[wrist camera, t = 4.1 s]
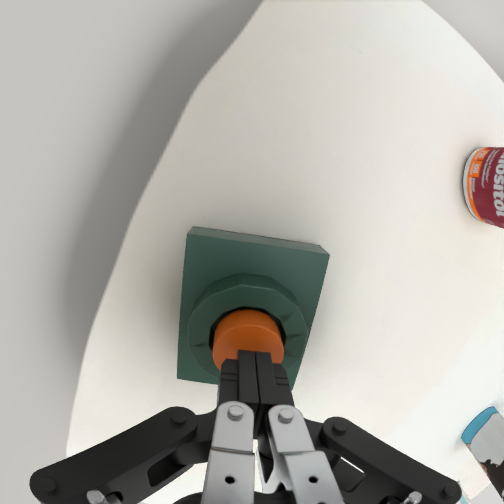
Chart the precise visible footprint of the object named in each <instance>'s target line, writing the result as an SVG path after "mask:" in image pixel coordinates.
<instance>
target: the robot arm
mask: <svg viewBox="0 0 504 504" xmlns="http://www.w3.org/2000/svg"><path fill="white" fill-rule="evenodd" d="M253 439H258V447H257V450H256V457H257V462H258V468H259V473H260V479H261V484H262V493H260V492H256V491H254V477H255V454H254V453H253ZM341 457H343V458H344V459H346V460H347V461H349V462H350V463H352V464H353V465H355V466H356V467H358V468H360V469H361V470H362V471H363V472H364V473H362V472H361V471H359V470H358V469H356V468H355V467H353V466H351V465H350V464H348V463H347V462H346V461H344V460H343V459H341ZM205 462H208V464H207V470H206V476H205V481H204V487H203V492H199V493H194V494H191V495H188V496H186V497H183V498H181V499H179V500H178V501H176V502H175V503H173V504H456V503H457V502H458V501H459V500H460V499H461V496H462V490H461V487H460V485H459V484H458V483H457V482H456V481H454V480H452V479H450V478H448V477H446V476H444V475H442V474H440V473H438V472H436V471H435V470H433V469H431V468H429V467H427V466H425V465H423V464H421V463H419V462H418V461H416V460H414V459H412V458H410V457H409V456H407V455H405V454H403V453H401V452H400V451H398V450H396V449H395V448H393V447H391V446H389V445H388V444H386V443H384V442H383V441H381V440H379V439H378V438H376V437H374V436H373V435H371V434H370V433H368V432H366V431H365V430H363V429H361V428H360V427H358V426H357V425H355V424H354V423H352V422H351V421H349V420H347V419H345V418H342V417H331V418H328V419H327V420H326V421H325V422H324V423H319V422H315V421H311V420H308V419H305V418H304V417H303V415H302V413H301V412H300V411H299V410H298V409H297V408H295V405H294V401H293V397H292V393H291V388H290V386H289V380H288V376H287V372H286V370H285V368H284V367H283V366H282V365H281V364H280V363H272V358H271V353H270V352H261V351H250V350H241V349H238V352H237V357H236V359H228V358H226V359H225V360H224V362H223V363H222V364H221V369H220V376H219V383H218V393H217V407H216V409H215V410H213V411H212V412H210V413H207V414H202V415H195V414H194V413H193V412H192V411H191V410H189V409H187V408H184V407H178V406H177V407H170V408H167V409H165V410H163V411H161V412H160V413H158V414H156V415H154V416H152V417H151V418H149V419H147V420H145V421H143V422H141V423H139V424H137V425H136V426H134V427H132V428H130V429H128V430H126V431H124V432H122V433H120V434H118V435H116V436H114V437H112V438H110V439H108V440H106V441H104V442H102V443H100V444H97V445H95V446H93V447H91V448H89V449H87V450H85V451H82V452H80V453H78V454H76V455H73V456H71V457H69V458H66V459H64V460H62V461H59V462H57V463H55V464H52V465H49V466H47V467H44V468H42V469H39V470H37V471H36V472H34V473H33V474H32V476H31V478H30V489H31V491H32V493H33V495H34V496H35V497H36V498H37V499H38V500H39V501H40V502H41V504H137V503H139V502H141V501H142V500H144V499H145V498H147V497H149V496H150V495H152V494H153V493H155V492H156V491H158V490H160V489H161V488H163V487H164V486H166V485H167V484H169V483H170V482H172V481H173V480H174V479H176V478H177V477H179V476H180V475H182V474H183V473H184V472H186V471H187V470H189V469H190V468H191V467H192V466H193V465H194V464H198V463H205ZM343 498H344V499H343Z"/></svg>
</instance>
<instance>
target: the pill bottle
mask: <svg viewBox="0 0 504 504" xmlns="http://www.w3.org/2000/svg"><path fill="white" fill-rule="evenodd" d="M463 188H464V195H465V200H466V203H467V205H468V208H469V210H470V211H471V213H472V214H473V215H474V216H475V217H476V218H477V219H478V220H480V221H483V222H485V223H488V224H491V225H494V226H498V227H501V228H504V148H503V147H483V148H479V149H477V150H476V151H474V152H473V153H472V154H471V156H470V157H469V159H468V160H467V163H466V166H465V170H464V177H463Z"/></svg>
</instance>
